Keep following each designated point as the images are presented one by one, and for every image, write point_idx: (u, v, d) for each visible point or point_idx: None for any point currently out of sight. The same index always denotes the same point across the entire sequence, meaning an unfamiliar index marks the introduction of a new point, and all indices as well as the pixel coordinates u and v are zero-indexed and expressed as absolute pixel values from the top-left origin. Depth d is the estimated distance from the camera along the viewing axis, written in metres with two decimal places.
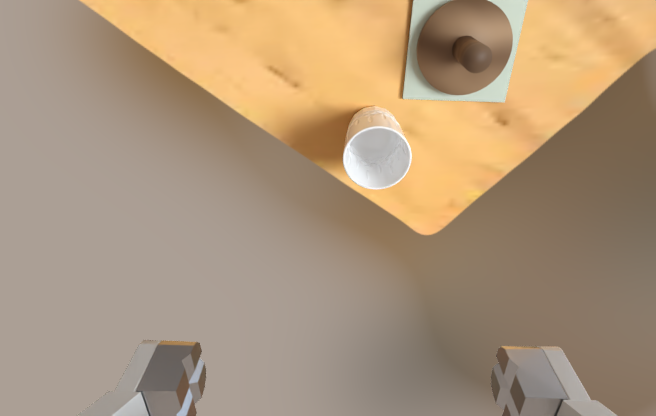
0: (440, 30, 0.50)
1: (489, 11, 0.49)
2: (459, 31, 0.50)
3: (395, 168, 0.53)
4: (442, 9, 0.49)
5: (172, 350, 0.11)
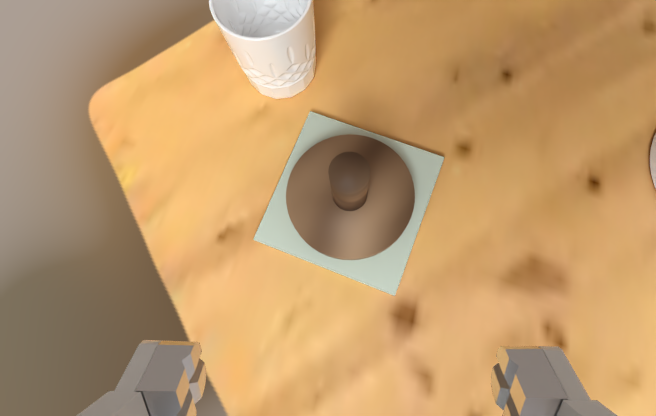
0: (384, 168, 0.37)
1: (387, 234, 0.35)
2: (374, 191, 0.36)
3: None
4: (409, 176, 0.37)
5: (172, 350, 0.11)
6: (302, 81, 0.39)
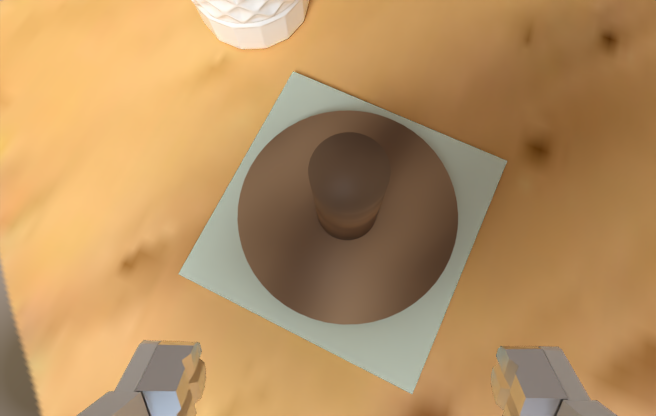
0: (408, 171, 0.22)
1: (407, 284, 0.20)
2: (389, 209, 0.21)
3: None
4: (450, 187, 0.21)
5: (172, 350, 0.11)
6: (284, 21, 0.24)
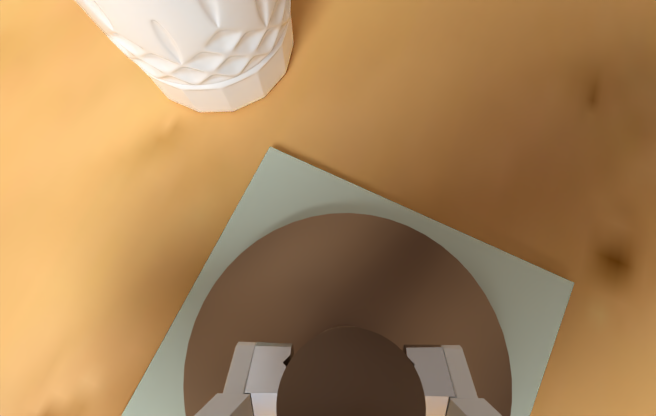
0: (435, 308, 0.15)
1: None
2: None
3: None
4: (498, 333, 0.15)
5: (271, 352, 0.11)
6: (256, 78, 0.17)
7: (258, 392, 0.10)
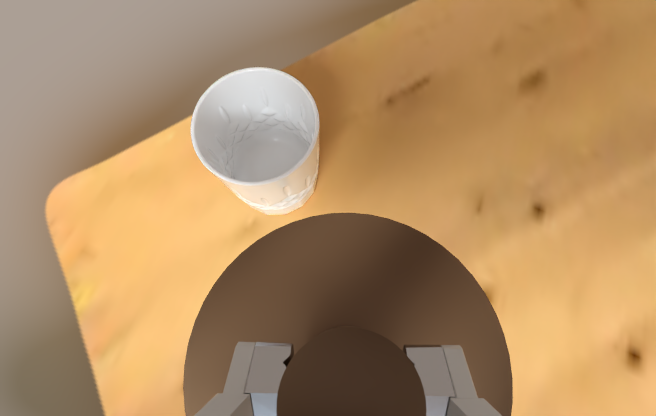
0: (436, 308, 0.15)
1: None
2: None
3: (213, 160, 0.28)
4: (498, 333, 0.15)
5: (271, 352, 0.11)
6: (299, 202, 0.33)
7: (258, 392, 0.10)
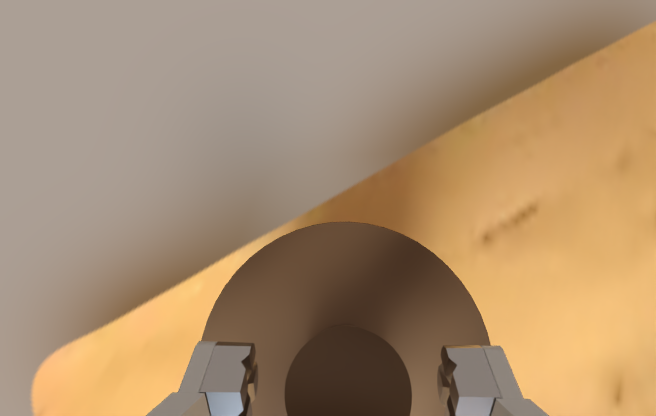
0: (426, 309, 0.16)
1: None
2: None
3: None
4: (482, 332, 0.16)
5: (230, 351, 0.11)
6: None
7: (213, 391, 0.10)
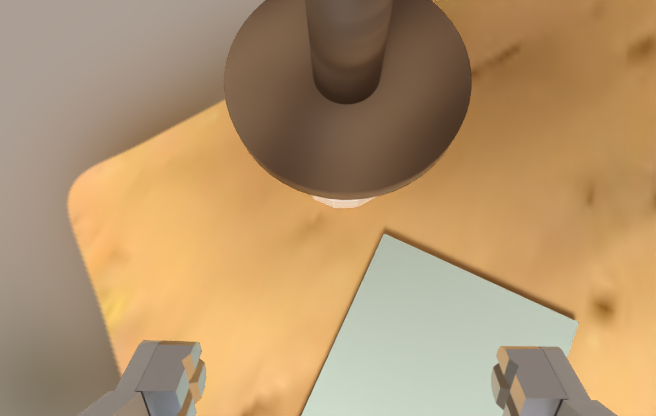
0: (414, 31, 0.20)
1: (417, 148, 0.18)
2: (394, 71, 0.19)
3: None
4: (461, 46, 0.19)
5: (172, 350, 0.11)
6: None
7: (149, 390, 0.10)
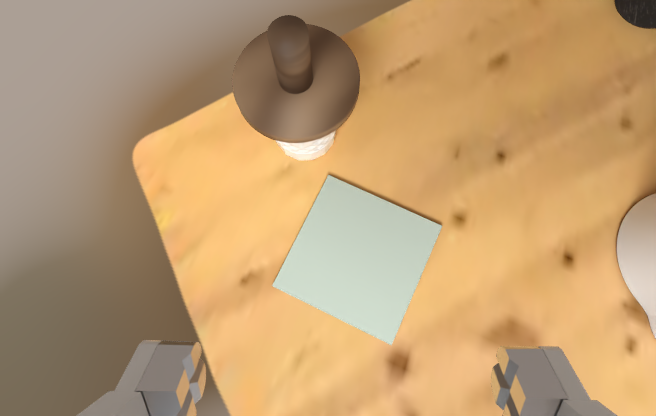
0: (331, 55, 0.37)
1: (330, 115, 0.36)
2: (320, 76, 0.37)
3: None
4: (355, 63, 0.37)
5: (172, 350, 0.11)
6: (323, 149, 0.45)
7: (149, 390, 0.10)
